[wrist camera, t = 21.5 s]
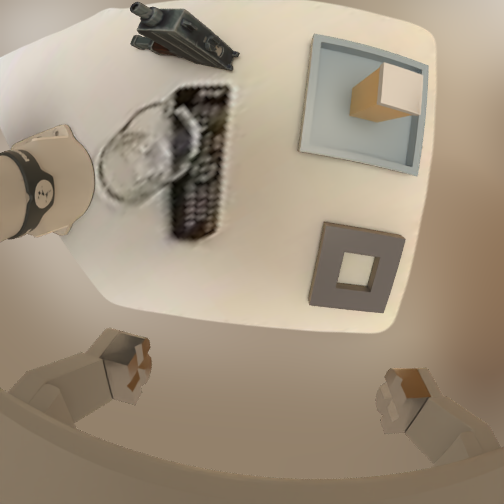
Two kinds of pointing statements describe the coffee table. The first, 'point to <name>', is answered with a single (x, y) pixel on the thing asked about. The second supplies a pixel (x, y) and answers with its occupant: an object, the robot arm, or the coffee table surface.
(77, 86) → the coffee table surface
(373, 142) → the parts tray
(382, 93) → the block
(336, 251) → the block
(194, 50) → the gun
